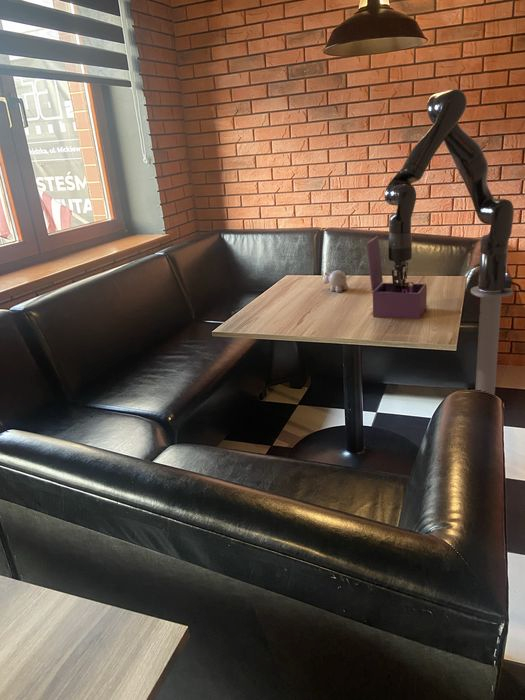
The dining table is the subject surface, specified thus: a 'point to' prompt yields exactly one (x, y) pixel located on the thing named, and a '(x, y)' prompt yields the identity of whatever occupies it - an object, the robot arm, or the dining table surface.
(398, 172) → the robot arm
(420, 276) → the dining table surface
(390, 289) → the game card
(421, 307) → the box
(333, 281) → the chubby cartoon animal
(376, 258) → the lid
